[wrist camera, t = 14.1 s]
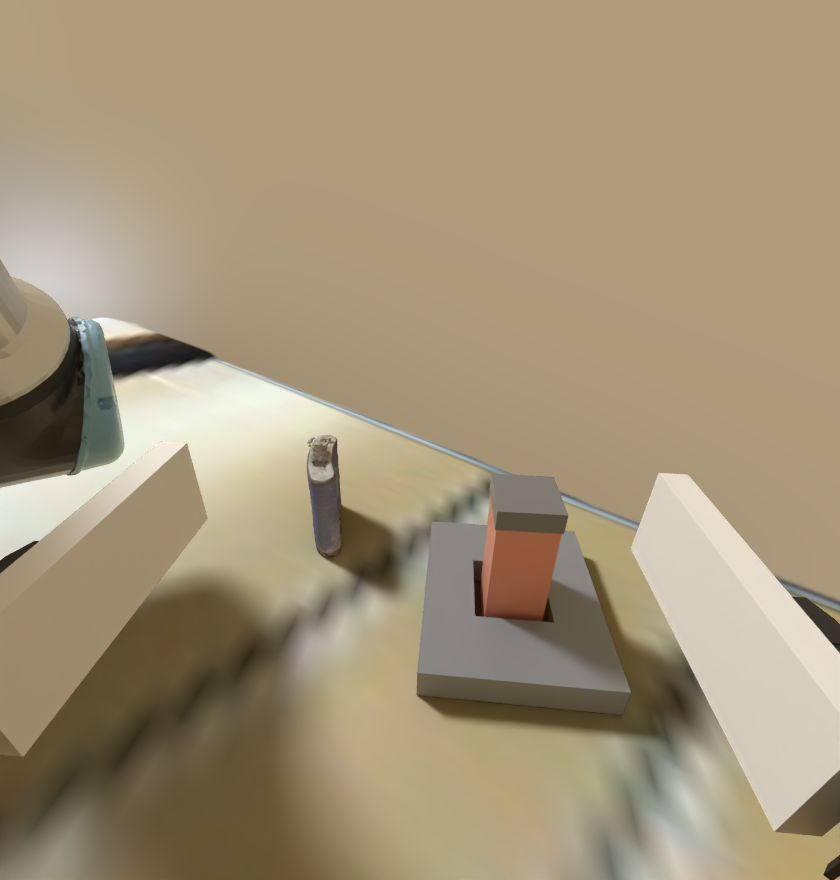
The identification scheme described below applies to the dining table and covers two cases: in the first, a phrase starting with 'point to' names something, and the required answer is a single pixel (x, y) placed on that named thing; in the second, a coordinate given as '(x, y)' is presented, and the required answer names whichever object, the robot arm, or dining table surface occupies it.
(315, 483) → the flask
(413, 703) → the dining table surface
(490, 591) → the plug
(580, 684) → the socket plate
